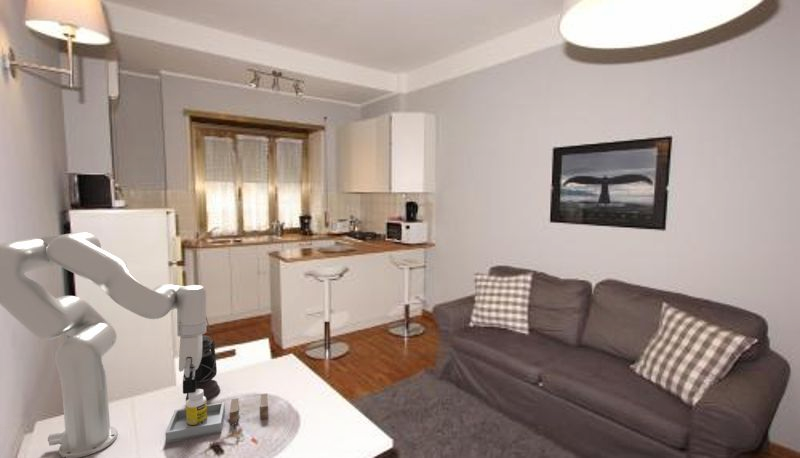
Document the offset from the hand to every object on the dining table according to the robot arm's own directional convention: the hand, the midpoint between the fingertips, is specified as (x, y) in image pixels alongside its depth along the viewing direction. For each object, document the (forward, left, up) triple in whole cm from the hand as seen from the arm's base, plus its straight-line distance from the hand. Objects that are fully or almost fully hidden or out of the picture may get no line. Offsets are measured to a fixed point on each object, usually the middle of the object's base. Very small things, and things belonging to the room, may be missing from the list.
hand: (192, 384), depth 113 cm
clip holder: (+15, +1, -13) cm, 20 cm away
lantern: (0, +20, -13) cm, 24 cm away
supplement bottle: (+1, 0, -12) cm, 12 cm away
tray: (+1, 0, -13) cm, 13 cm away
